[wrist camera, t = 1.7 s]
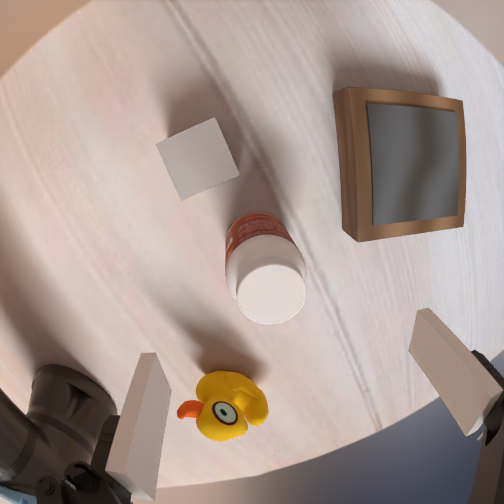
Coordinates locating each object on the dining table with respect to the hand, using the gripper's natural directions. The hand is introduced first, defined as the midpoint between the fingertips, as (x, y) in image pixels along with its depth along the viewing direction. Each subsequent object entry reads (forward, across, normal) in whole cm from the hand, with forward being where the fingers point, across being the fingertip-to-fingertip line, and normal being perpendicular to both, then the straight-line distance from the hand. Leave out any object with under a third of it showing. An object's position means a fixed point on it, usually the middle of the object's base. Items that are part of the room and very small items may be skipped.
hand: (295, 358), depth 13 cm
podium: (+18, +16, +7) cm, 24 cm away
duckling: (+18, -6, -18) cm, 26 cm away
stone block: (+18, -4, +9) cm, 20 cm away
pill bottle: (+18, 0, 0) cm, 18 cm away
